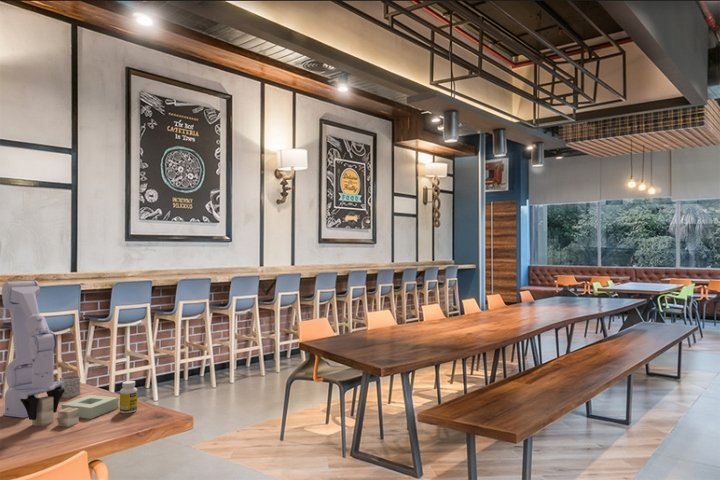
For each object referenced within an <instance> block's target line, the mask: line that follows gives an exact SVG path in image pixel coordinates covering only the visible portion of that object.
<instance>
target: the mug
mask: <svg viewBox="0 0 720 480" xmlns="http://www.w3.org/2000/svg"><path fill="white" fill-rule="evenodd" d="M59 381H64V387H62V388H63V389H64V393H63V395H62V396H61V397H62V399H67V398H68V399H69V398H75V397H79V396H80V395H81V376H80V375H76V374H75V375H73V374H72V375H66V376H61V377H60V378H59Z"/></svg>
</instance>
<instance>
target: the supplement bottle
mask: <svg viewBox="0 0 720 480" xmlns="http://www.w3.org/2000/svg"><path fill="white" fill-rule="evenodd" d="M121 383H122V385H121V386H122V387H121V389H120V390H119V412H120V413H121V414H131V413H132V414H133V413H135V412H136V411H138V388H137V387H135V386H136V381H135V380H126V381H123V382H121Z"/></svg>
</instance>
